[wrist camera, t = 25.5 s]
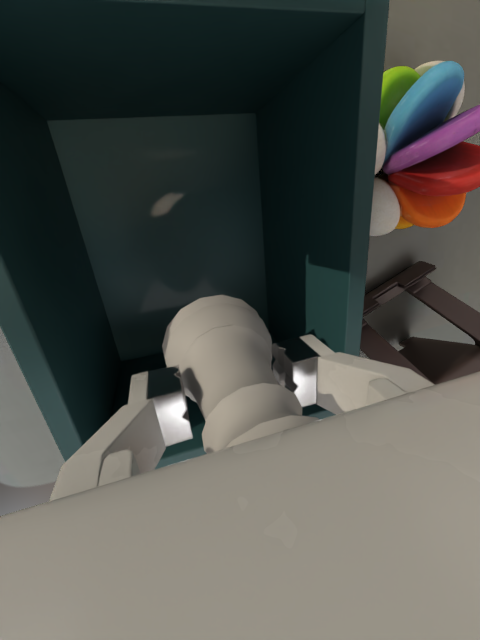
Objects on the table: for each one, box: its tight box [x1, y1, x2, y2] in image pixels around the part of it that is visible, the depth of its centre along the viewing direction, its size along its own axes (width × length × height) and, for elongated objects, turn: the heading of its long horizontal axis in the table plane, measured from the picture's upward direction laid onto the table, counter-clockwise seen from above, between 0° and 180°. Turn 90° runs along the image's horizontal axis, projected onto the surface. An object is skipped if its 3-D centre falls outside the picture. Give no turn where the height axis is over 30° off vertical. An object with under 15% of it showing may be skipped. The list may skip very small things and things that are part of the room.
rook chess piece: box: [162, 295, 320, 454], centre depth 9 cm, size 4×4×8 cm
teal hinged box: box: [0, 0, 389, 469], centre depth 14 cm, size 16×13×10 cm
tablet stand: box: [360, 261, 480, 385], centre depth 22 cm, size 9×8×8 cm
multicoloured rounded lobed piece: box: [370, 61, 480, 236], centre depth 17 cm, size 8×10×7 cm
